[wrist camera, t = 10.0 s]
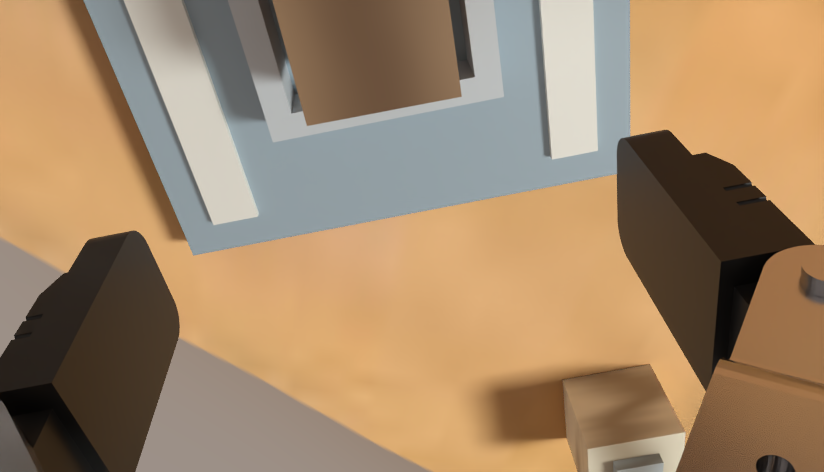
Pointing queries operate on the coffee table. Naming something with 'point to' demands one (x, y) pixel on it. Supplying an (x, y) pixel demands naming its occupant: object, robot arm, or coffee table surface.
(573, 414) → the block
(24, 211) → the coffee table surface
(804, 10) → the coffee table surface
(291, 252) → the coffee table surface
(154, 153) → the jig
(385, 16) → the block
